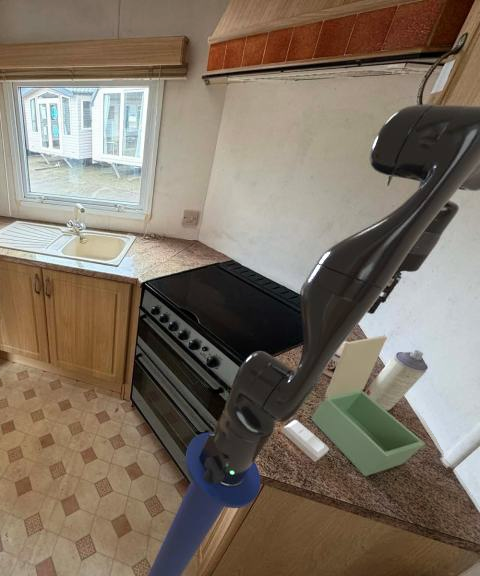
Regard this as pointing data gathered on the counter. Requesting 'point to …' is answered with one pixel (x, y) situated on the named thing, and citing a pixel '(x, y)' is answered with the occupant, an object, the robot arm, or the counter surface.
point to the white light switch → (305, 440)
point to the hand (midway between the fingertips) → (369, 304)
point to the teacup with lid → (334, 361)
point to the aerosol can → (397, 378)
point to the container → (365, 432)
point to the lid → (355, 366)
